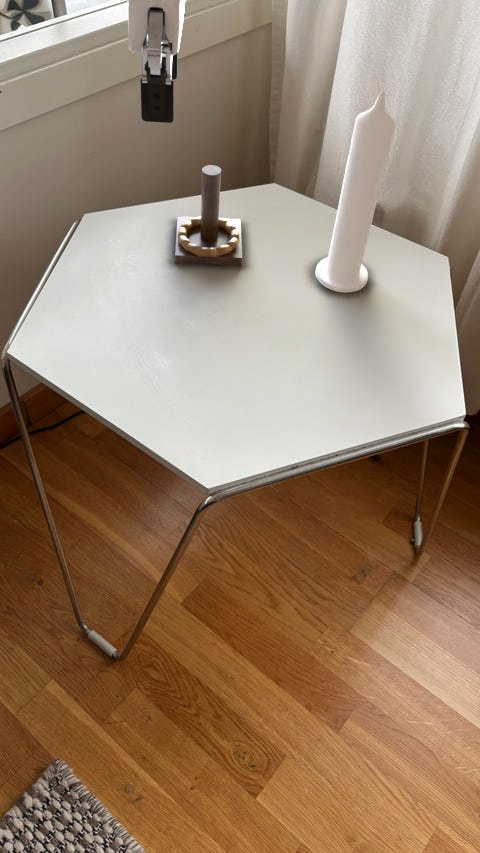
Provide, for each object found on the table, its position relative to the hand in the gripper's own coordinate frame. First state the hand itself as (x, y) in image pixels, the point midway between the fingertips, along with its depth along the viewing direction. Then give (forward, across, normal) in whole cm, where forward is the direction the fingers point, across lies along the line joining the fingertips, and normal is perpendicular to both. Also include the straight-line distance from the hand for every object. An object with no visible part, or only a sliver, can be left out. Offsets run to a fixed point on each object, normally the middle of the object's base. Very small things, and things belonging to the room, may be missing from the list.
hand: (160, 98), depth 75 cm
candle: (+24, -2, +24) cm, 34 cm away
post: (+24, -8, +6) cm, 26 cm away
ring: (+22, -8, +6) cm, 24 cm away
